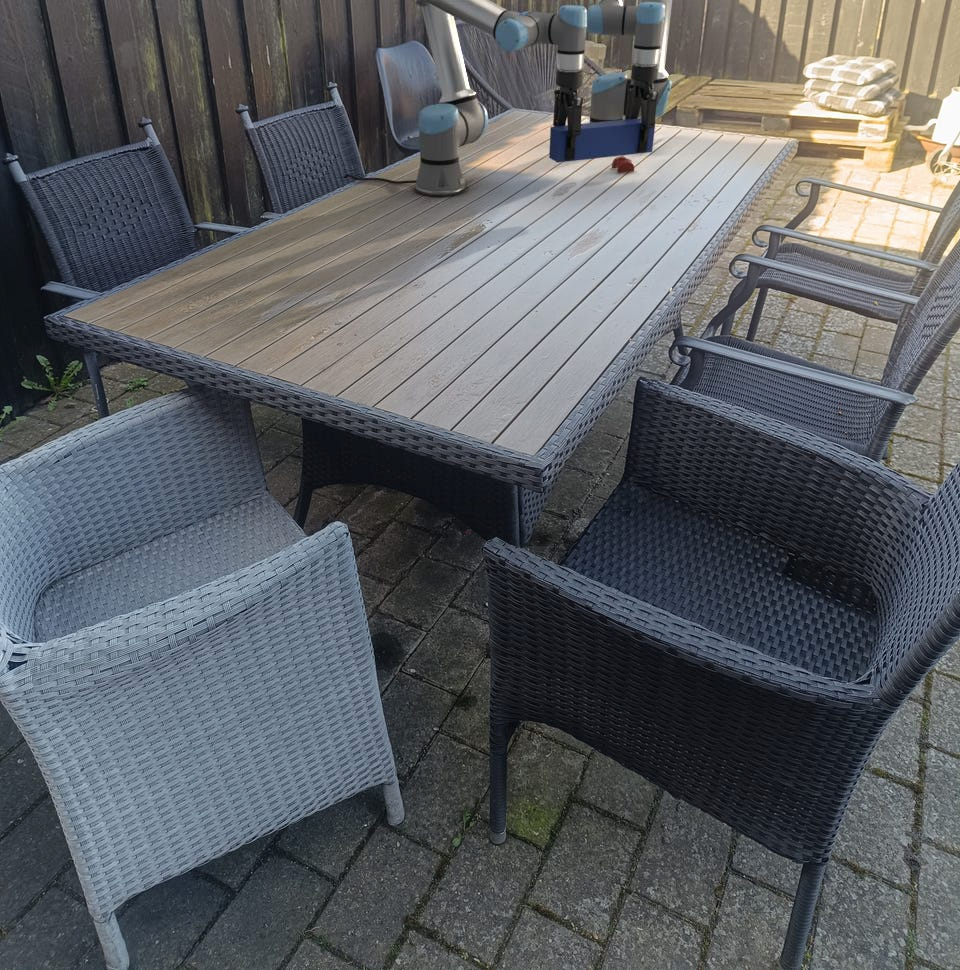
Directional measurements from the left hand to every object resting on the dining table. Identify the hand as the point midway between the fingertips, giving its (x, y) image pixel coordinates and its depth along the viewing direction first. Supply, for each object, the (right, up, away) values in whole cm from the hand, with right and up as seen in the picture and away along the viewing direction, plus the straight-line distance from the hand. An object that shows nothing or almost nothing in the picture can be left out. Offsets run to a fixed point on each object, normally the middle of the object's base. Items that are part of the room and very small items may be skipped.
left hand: (565, 156), depth 247 cm
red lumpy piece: (+22, +7, +29) cm, 37 cm away
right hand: (+22, +5, +7) cm, 24 cm away
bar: (+11, +2, +4) cm, 12 cm away
